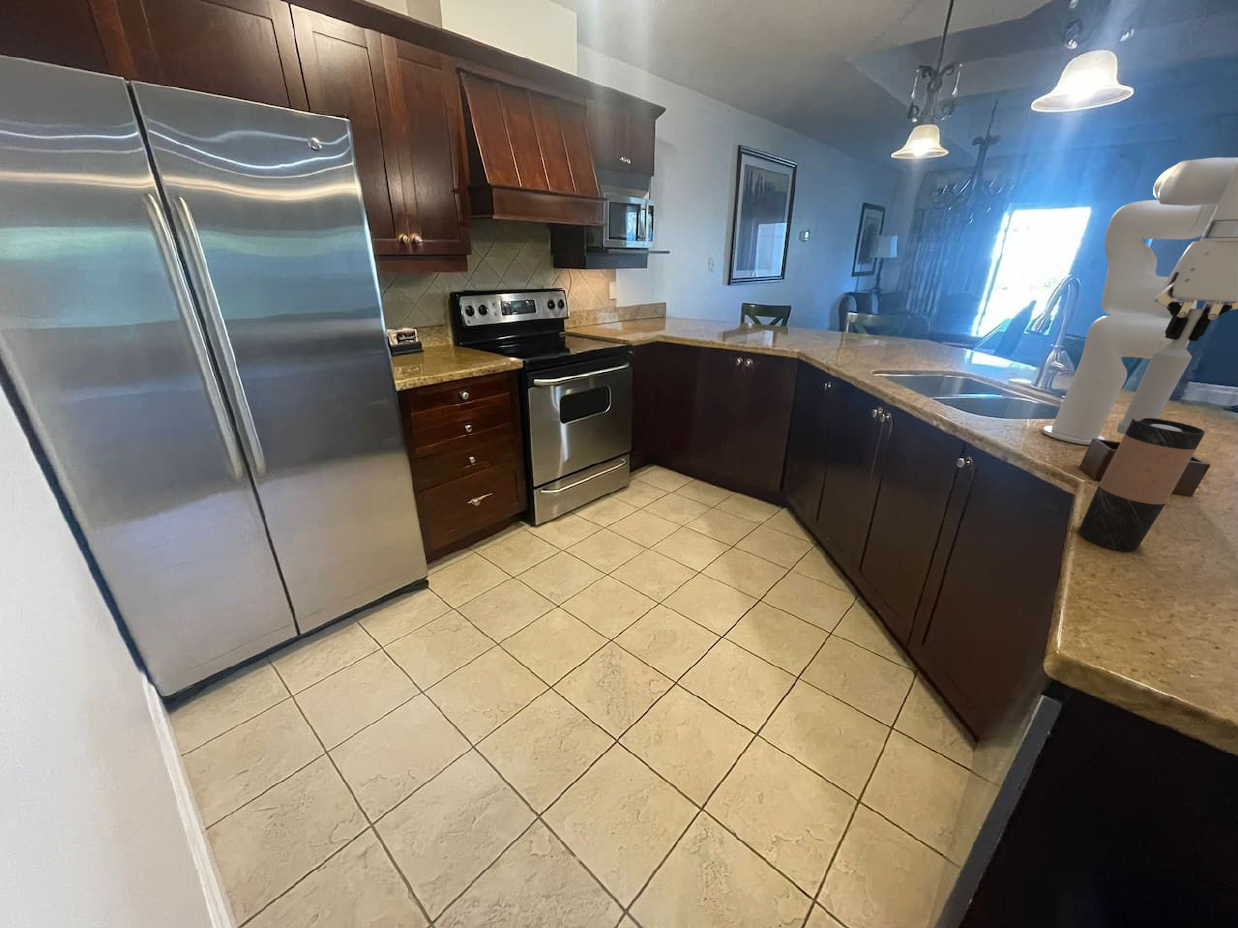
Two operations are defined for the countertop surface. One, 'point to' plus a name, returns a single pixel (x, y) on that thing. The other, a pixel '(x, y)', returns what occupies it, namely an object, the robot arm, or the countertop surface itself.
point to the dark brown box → (1105, 449)
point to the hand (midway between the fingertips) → (1181, 338)
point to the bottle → (1161, 377)
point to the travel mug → (1139, 482)
